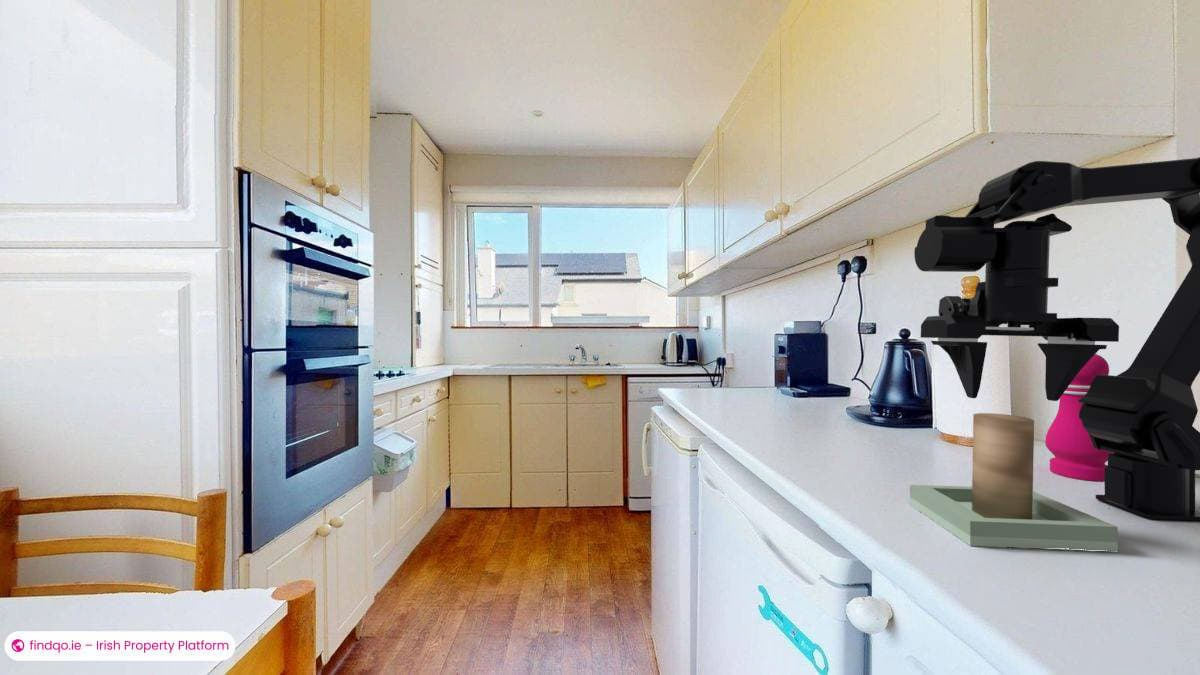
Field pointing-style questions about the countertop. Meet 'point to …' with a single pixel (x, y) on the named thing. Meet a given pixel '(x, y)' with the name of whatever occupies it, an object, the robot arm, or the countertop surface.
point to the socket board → (1013, 522)
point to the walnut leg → (1002, 466)
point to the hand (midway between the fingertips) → (1011, 399)
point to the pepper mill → (1076, 430)
